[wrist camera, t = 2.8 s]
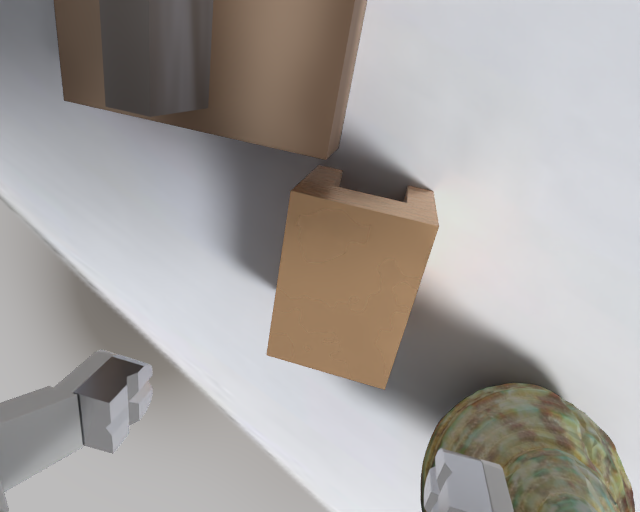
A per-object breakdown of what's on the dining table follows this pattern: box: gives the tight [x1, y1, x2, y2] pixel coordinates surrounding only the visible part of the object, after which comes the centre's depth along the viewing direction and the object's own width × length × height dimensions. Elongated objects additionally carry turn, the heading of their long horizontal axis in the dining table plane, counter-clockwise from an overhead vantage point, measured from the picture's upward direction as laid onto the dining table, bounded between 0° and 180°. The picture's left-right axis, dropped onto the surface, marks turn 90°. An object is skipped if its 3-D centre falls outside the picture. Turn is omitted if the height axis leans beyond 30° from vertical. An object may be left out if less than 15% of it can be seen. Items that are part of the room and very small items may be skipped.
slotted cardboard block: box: [267, 165, 439, 390], centre depth 19 cm, size 6×8×5 cm
